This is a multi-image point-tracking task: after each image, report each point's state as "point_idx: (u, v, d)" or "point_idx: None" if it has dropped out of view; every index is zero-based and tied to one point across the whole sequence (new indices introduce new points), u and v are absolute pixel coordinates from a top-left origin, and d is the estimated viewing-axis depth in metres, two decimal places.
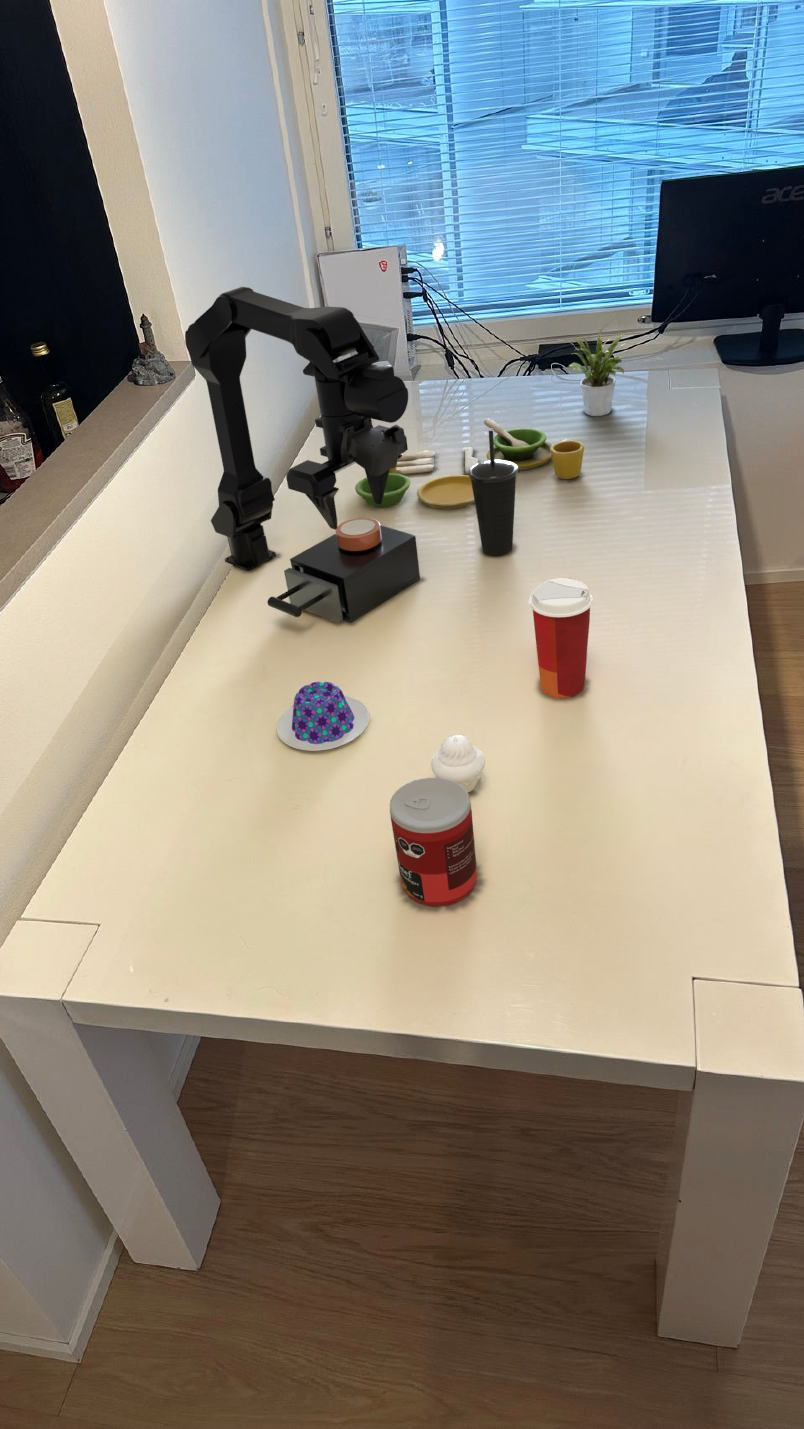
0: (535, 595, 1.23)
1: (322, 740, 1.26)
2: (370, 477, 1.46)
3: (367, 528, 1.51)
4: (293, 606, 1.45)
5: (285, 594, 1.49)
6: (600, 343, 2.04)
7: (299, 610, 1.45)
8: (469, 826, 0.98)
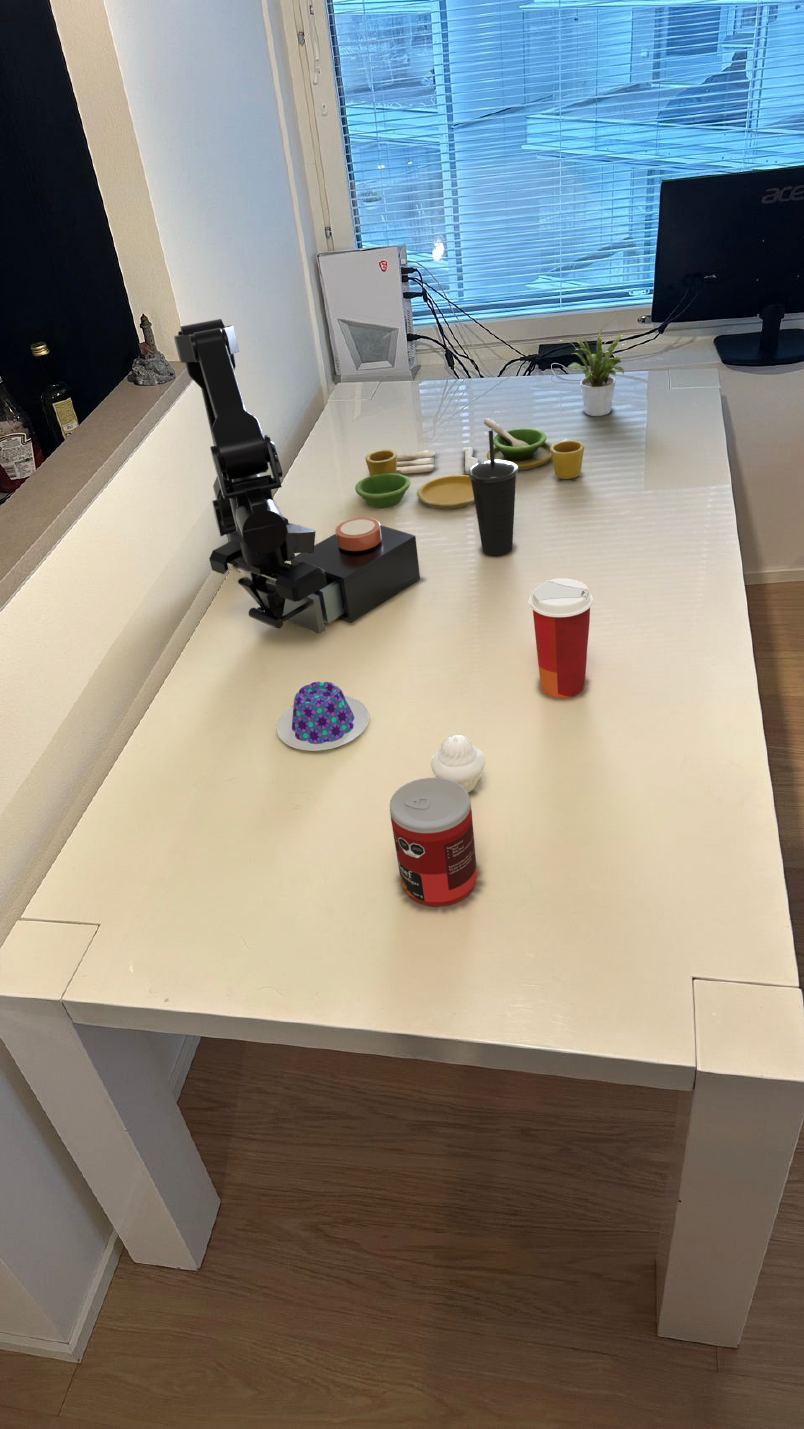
0: (535, 595, 1.23)
1: (322, 740, 1.26)
2: None
3: (367, 528, 1.51)
4: (274, 617, 1.43)
5: None
6: (600, 343, 2.04)
7: (280, 621, 1.43)
8: (469, 826, 0.98)
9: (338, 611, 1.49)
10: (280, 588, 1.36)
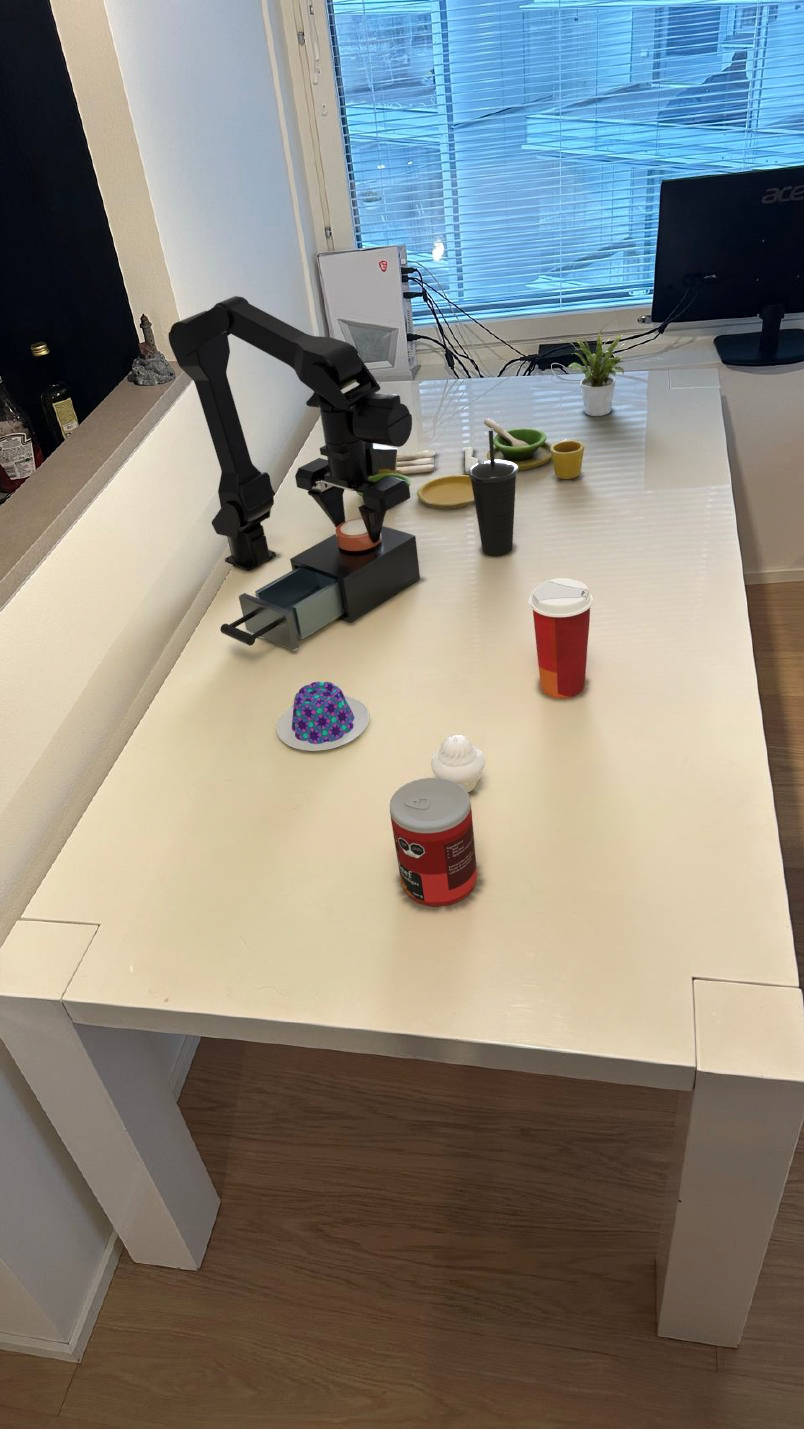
0: (535, 595, 1.23)
1: (322, 740, 1.26)
2: (333, 510, 1.52)
3: None
4: (246, 634, 1.40)
5: (239, 621, 1.44)
6: (600, 343, 2.04)
7: (252, 638, 1.40)
8: (469, 826, 0.98)
9: (312, 627, 1.46)
10: (367, 499, 1.43)
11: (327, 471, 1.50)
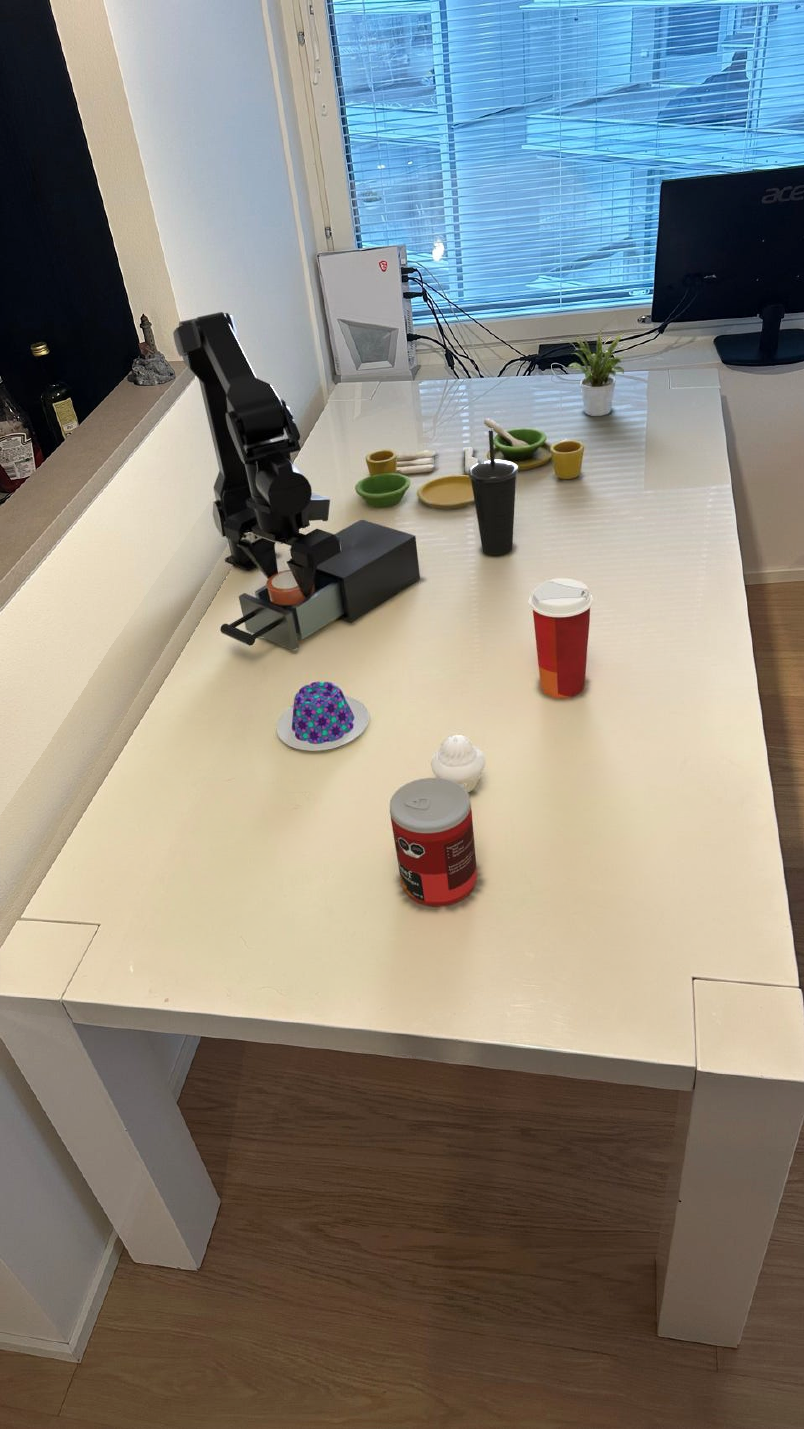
0: (535, 595, 1.23)
1: (322, 740, 1.26)
2: (264, 562, 1.46)
3: None
4: (246, 634, 1.40)
5: (239, 621, 1.44)
6: (600, 343, 2.04)
7: (252, 638, 1.40)
8: (469, 826, 0.98)
9: (312, 627, 1.46)
10: (295, 554, 1.36)
11: (257, 522, 1.44)
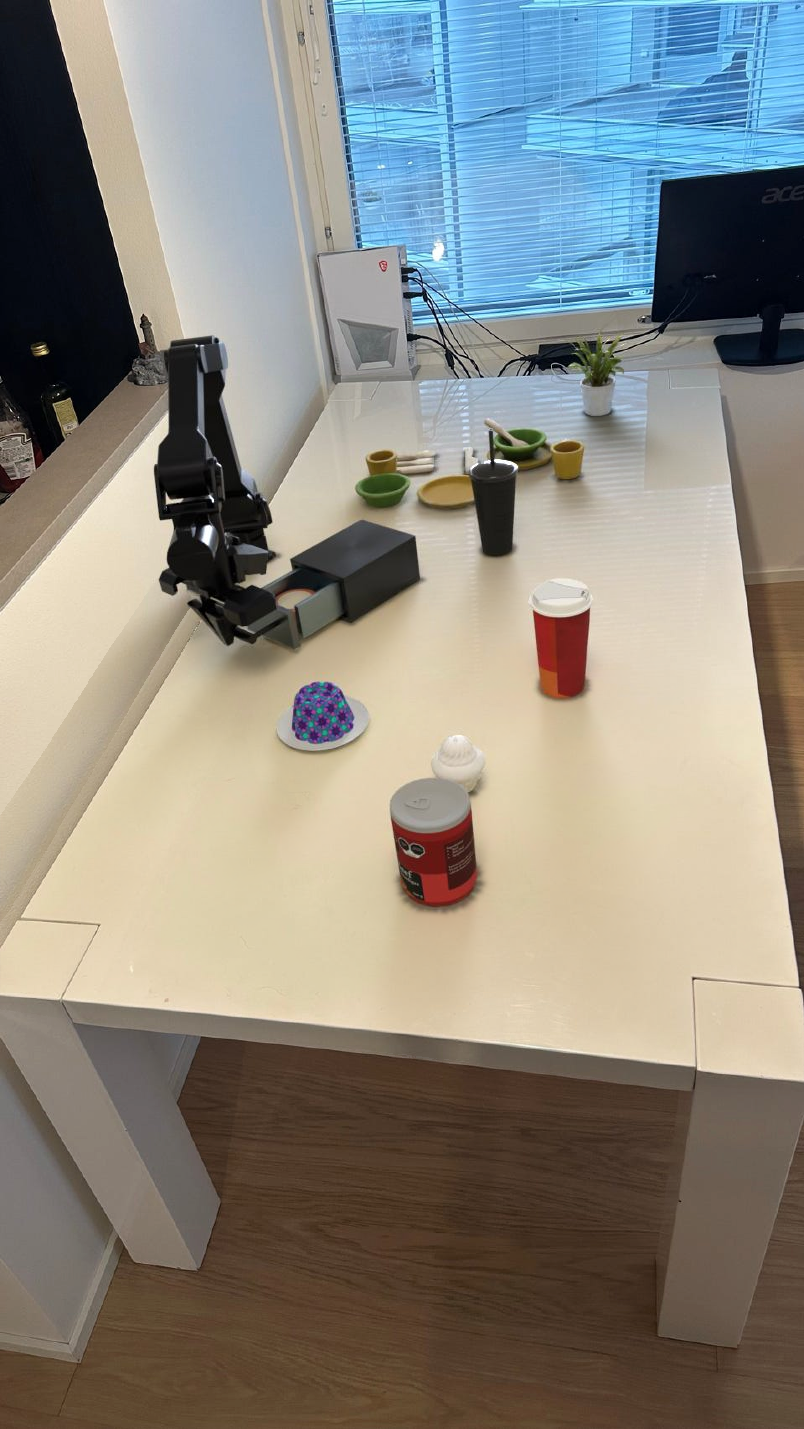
0: (535, 595, 1.23)
1: (322, 740, 1.26)
2: None
3: None
4: (248, 633, 1.40)
5: None
6: (600, 343, 2.04)
7: (254, 637, 1.40)
8: (469, 826, 0.98)
9: (314, 626, 1.46)
10: (228, 612, 1.31)
11: None
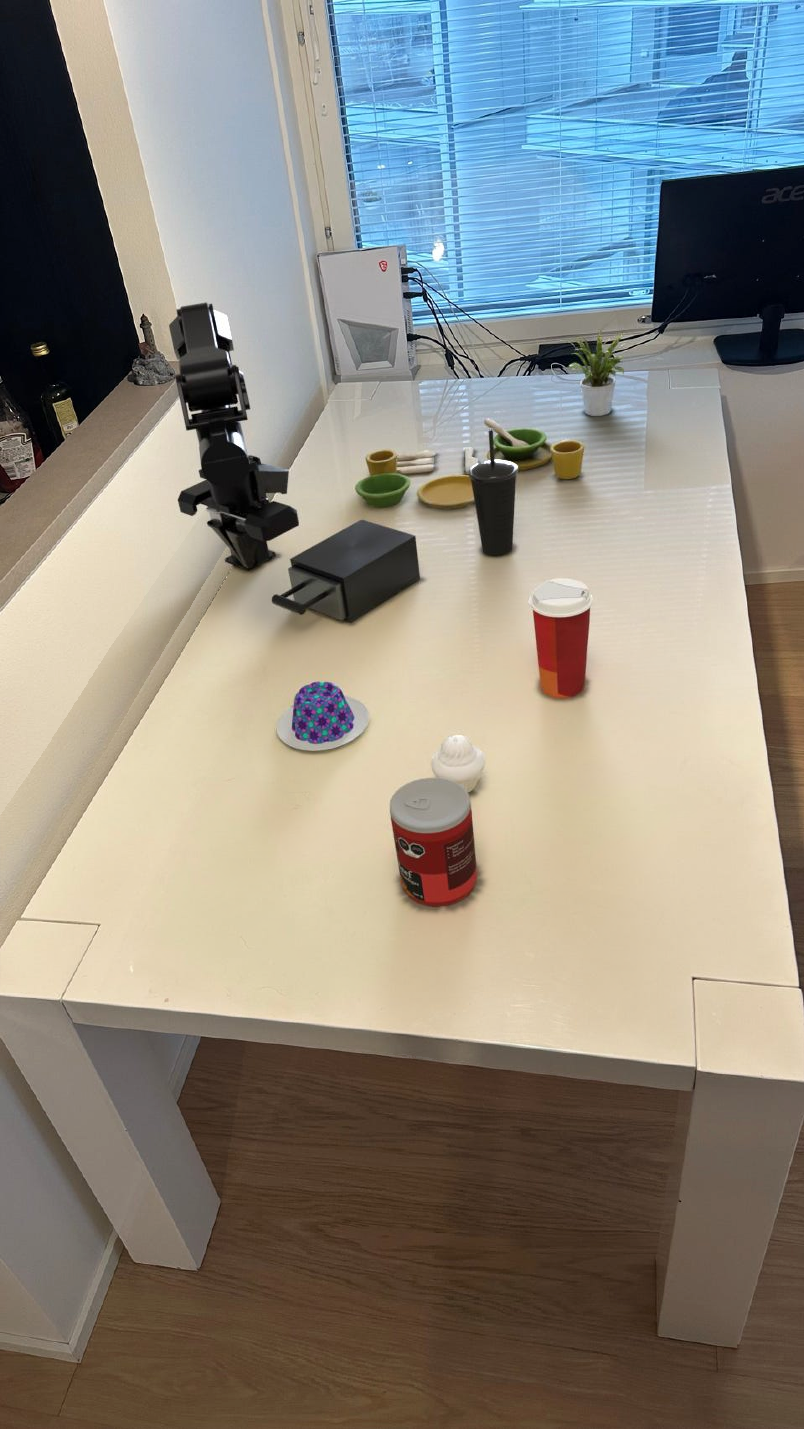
0: (535, 595, 1.23)
1: (322, 740, 1.26)
2: None
3: None
4: (297, 604, 1.45)
5: (289, 592, 1.50)
6: (600, 343, 2.04)
7: (303, 608, 1.45)
8: (469, 826, 0.98)
9: None
10: (249, 527, 1.29)
11: None
